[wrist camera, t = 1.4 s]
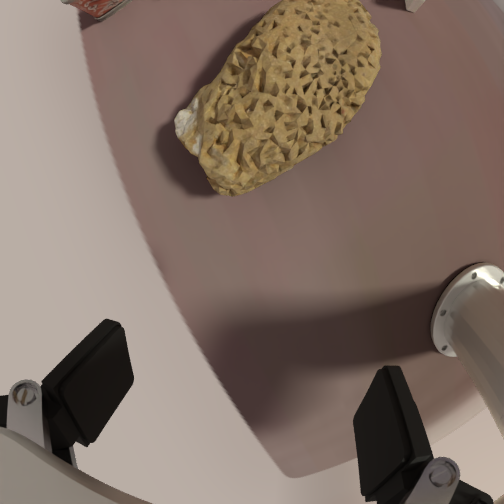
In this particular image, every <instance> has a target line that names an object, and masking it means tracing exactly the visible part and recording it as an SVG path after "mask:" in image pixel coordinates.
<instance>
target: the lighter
mask: <svg viewBox="0 0 504 504" xmlns="http://www.w3.org/2000/svg"><path fill="white" fill-rule="evenodd" d="M131 1H132V0H61V2H62V3H64V4H70V5H72V6H74V7H76V8H78V9H80V10H82V11H84V12H86V13H88V14H90V15H92V16H94V18H95V19H97V20H99V21H104V20H106V19H107V18H109V17H110V16H112V15H113V14H115V13H116V12H118V11H119V10H120V9H122V8H123V7H124V6H126V5H127V4H128V3H130V2H131Z"/></svg>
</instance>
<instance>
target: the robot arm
mask: <svg viewBox="0 0 504 504" xmlns="http://www.w3.org/2000/svg"><path fill="white" fill-rule="evenodd" d="M430 329H431V337H432V340H433V343H434V345H435V346H436V348H437V349H438V351H439V352H440V353H442V354H444V355H445V356H450V357H458V358H459V360H460V362H461V363H462V365H463V366H464V368H465V369H466V371H467V373H468V374H469V376H470V378H471V379H472V381H473V383H474V384H475V386H476V388H477V389H478V391H479V393H480V395H481V396H482V398H483V400H484V402H485V404H486V405H487V407H488V409H489V411H490V413H491V415H492V416H493V419H494V421H495V423H496V425H497V427H498V429H499V430H500V432H501V434H502V436H503V438H504V272H503V271H502V270H501V269H500V268H498V267H497V266H495V265H493V264H491V263H478V264H475V265H472V266H470V267H469V268H467V269H465V270H464V271H462V272H461V273H460V274H459V275H457V276H456V277H455V278H454V279H453V281H452V282H451V283H450V284H449V285H448V286H447V288H446V289H445V290H444V292H443V293H442V295H441V297H440V299H439V300H438V302H437V305H436V307H435V310H434V312H433V316H432V320H431V328H430ZM133 381H134V375H133V371H132V366H131V362H130V357H129V352H128V347H127V342H126V336H125V331H124V328H123V327H121V324H120V323H119V322H116V321H113V320H109V319H105V320H103V321H102V322H101V323H100V324H99V325H98V326H97V327H96V328H95V329H94V330H93V331H92V332H90V334H88V335H87V336H86V337H85V338H84V339H83V340H82V341H81V342H80V343H79V344H78V345H77V346H76V347H75V348H74V349H73V350H72V351H71V352H70V353H69V354H68V355H67V356H66V357H65V358H64V359H63V360H62V361H61V362H60V363H59V364H58V365H57V366H56V367H55V368H54V369H53V370H52V371H51V372H50V373H49V374H48V375H47V376H46V377H45V378H44V379H43V380H42V385H41V386H39V384H37V383H36V382H35V381H32V380H21V381H19V382H17V383H15V384H14V385H13V386H12V388H11V389H10V392H9V395H5V396H4V395H3V396H0V504H152V503H149V502H147V501H144V500H141V499H139V498H136V497H134V496H131V495H129V494H127V493H124V492H122V491H120V490H118V489H115V488H113V487H111V486H109V485H107V484H105V483H103V482H101V481H99V480H97V479H95V478H93V477H91V476H89V475H88V474H86V473H84V472H82V471H80V470H79V469H78V467H77V463H76V459H75V454H74V449H73V444H74V443H75V442H78V443H80V444H82V445H84V446H85V447H88V445H89V444H90V443H93V442H95V441H96V439H97V437H98V436H99V434H100V433H101V431H102V430H103V428H104V427H105V425H106V424H107V422H108V420H109V419H110V417H111V416H112V415H113V413H114V411H115V410H116V409H117V407H118V405H119V404H120V402H121V401H122V399H123V398H124V396H125V395H126V393H127V392H128V391H129V389H130V388H131V386H132V384H133ZM353 426H354V433H355V441H356V449H357V457H358V466H359V476H360V488H361V494H362V496H365V501H366V502H370V501H377V504H504V495H502V496H501V497H500V498H498V499H497V500H496V501H494V502H493V499H492V498H491V496H489V495H488V494H487V493H484V492H482V491H480V490H478V489H476V488H474V487H472V486H471V485H469V484H467V483H465V482H463V481H461V480H459V479H460V470H459V467H458V465H457V464H456V463H455V462H454V461H453V460H451V459H450V458H447V457H438V458H435V459H434V457H433V454H432V450H431V447H430V444H429V441H428V438H427V434H426V431H425V428H424V426H423V423H422V420H421V417H420V414H419V411H418V408H417V406H416V404H415V402H414V400H413V398H412V395H411V392H410V390H409V387H408V385H407V382H406V380H405V377H404V375H403V372H402V370H401V368H400V366H384V367H383V368H382V369H379V370H378V371H377V373H376V375H375V377H374V379H373V381H372V383H371V385H370V387H369V389H368V391H367V393H366V395H365V397H364V399H363V401H362V403H361V404H360V406H359V408H358V410H357V412H356V413H355V415H354V419H353Z"/></svg>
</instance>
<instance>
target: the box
mask: <svg viewBox="0 0 504 504" xmlns="http://www.w3.org/2000/svg"><path fill="white" fill-rule="evenodd" d="M424 2H425V0H405V4H406V10H408V11H411V12H413V13H415V12H416V11H417V10H418V8H419V7H420V6H421V5H422V4H423V3H424Z"/></svg>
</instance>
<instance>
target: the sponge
mask: <svg viewBox="0 0 504 504" xmlns="http://www.w3.org/2000/svg"><path fill="white" fill-rule="evenodd" d="M370 19H371V15H370V14H369V13H368V11H367V10H366V9H365V8H364V6H363V5H362V4H361V2H360V1H359V0H282V1H280V2H279V3H277V4H275V5H274V6H273V7H272V8H270V9H269V10H268V12H267V13H266V14H265V15H264V16H263V18H262V19H261V20H260V21H259V23H258V22H257V24H256V25H254V26H253V27H252V29H251V30H250V32H249V34H248V35H247V37H246V38H245V39H244V40H243V41H241V42H240V43H237V44H236V46H235V47H234V49H233V51H232V52H231V54H230V55H229V56H228V57H227V61H226V62H225V64H224V66H223V68H222V69H221V71H220V73H219V74H218V75H217V77H216V78H215V79H214V80H213V81H212V82H211V83H210V84H208V85H205V86H204V87H202V88H201V89H200V90H199V91H198V92H197V94H196V95H195V96H194V98H193V100H192V102H191V103H190V104H189V106H188V107H187V108H186V109H183V110H181V111H179V112H178V114H177V116H176V117H175V119H174V122H175V127H176V131H175V132H176V135H177V137H178V139H179V140H180V141H181V143H182V144H183V145H184V147H185V148H186V149H188V150H189V152H190V153H191V154H193V155H195V156H197V157H198V159H199V164H200V165H201V166H202V167H203V169H204V171H205V173H206V175H207V177H206V178H207V180H208V181H209V183H210V184H211V186H212V188H213V189H214V190H215V191H216V192H218V193H219V194H221V195H226V196H227V195H229V196H237V195H241V194H244V193H247V192H249V191H251V190H253V189H255V188H257V187H259V186H261V185H263V184H265V183H267V182H269V181H271V180H273V179H275V177H277V176H279V175H280V174H282V173H284V172H285V171H288V170H290V169H292V168H293V166H294V165H295V164H297V163H299V162H301V161H302V160H304V159H306V158H307V157H309V156H311V155H313V154H314V153H316V152H318V151H319V150H320V149H321V148H322V147H323V146H326V145H328V144H329V143H331V142H333V141H334V140H336V139H337V135H339V134H342V133H343V128H344V127H345V125H346V124H348V123H349V122H351V119H352V117H353V116H354V115H355V114H356V113H357V111H358V110H359V109H360V108H361V104H363V102H364V101H365V97H364V96H365V95H366V93H367V91H368V90H369V88H370V87H371V86H372V83H373V81H374V79H375V77H376V75H377V73H378V71H379V69H380V67H381V66H380V65H379V60H380V57H381V55H382V54H381V49H380V39H379V37H378V35H377V34H378V31H379V30H378V29H377V28H376V27H375V25H373V24H371V23H370Z"/></svg>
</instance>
